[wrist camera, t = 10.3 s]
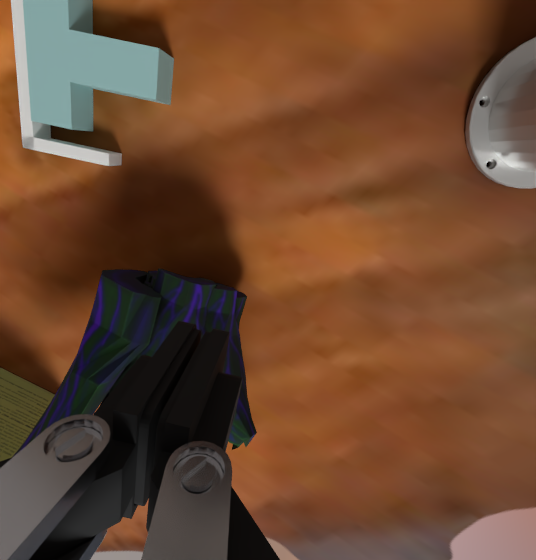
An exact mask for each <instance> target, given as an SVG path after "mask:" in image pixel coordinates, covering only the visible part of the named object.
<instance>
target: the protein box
mask: <svg viewBox="0 0 536 560" xmlns="http://www.w3.org/2000/svg"><path fill="white" fill-rule="evenodd" d="M54 396H55V394H53V393H51V392H49V391H47V390H45V389H43V388H41V387H39V386H36V385H34V384H33V383H31V382H29V381H27V380H25V379H23V378H21V377H19V376H17V375H14V374H12V373H10V372H8V371H6V370H4V369H2V368H0V461H3V460H6V459H9V458H11V457H13V455H14V454H15V453H16V452H17V450H18V449H19V448H20V447H21V445H22V444H23V443H24V442H25V440H26V439H27V437H28V436H29V434H30V433H31V431H32V430H33V428H34V427H35V425H36V424H37V422H38V421H39V419H40V418H41V416H42V415H43V413H44V411H45V410H46V408H47V407H48V405H49V404H50V402H51V401H52V399H53V397H54Z"/></svg>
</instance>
